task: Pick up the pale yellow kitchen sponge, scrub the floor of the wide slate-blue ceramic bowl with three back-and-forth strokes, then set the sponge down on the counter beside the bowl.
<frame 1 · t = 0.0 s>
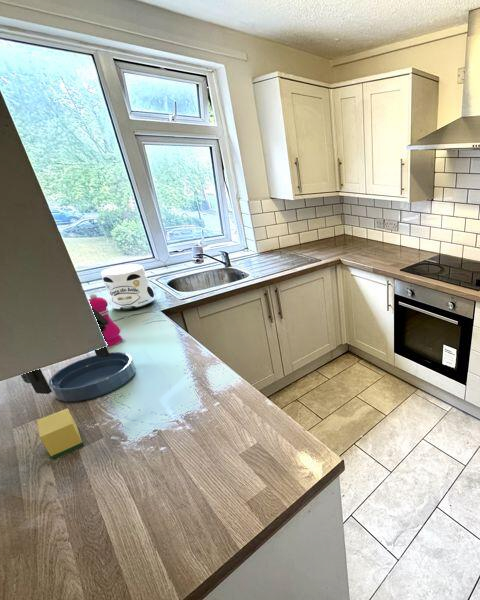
hand: (76, 372, 74), 20 cm above the countertop, tool pointing down, fingers open, 13 cm apart
sponge: (66, 443, 81), on the countertop
milk container: (135, 305, 156), on the countertop
bowl: (98, 382, 103), on the countertop
pepper mill: (112, 342, 125), on the countertop
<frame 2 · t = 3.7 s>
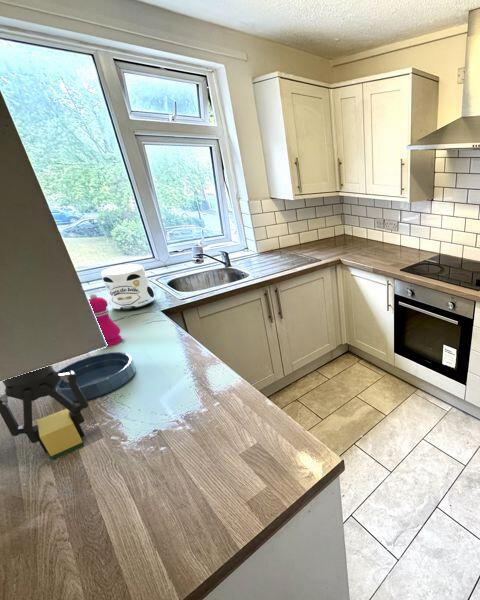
hand: (64, 441, 81), 1 cm above the countertop, tool pointing down, fingers closed on sponge, 5 cm apart
sponge: (66, 443, 81), on the countertop, touching gripper
everything else where it was.
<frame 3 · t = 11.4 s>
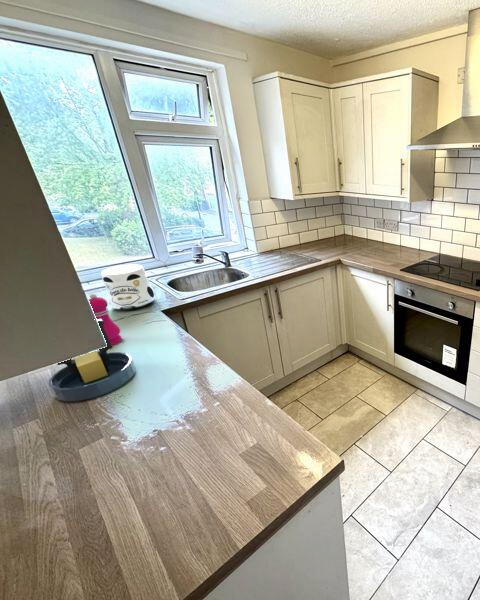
hand: (94, 374, 103), 2 cm above the countertop, tool pointing down, fingers closed on sponge, 5 cm apart
sponge: (95, 376, 104), point 1 cm above the countertop, touching gripper
everything else where it was.
when the fingers open (1 cm above the countertop, at t = 19.5 s): sponge stays where it is, on the countertop.
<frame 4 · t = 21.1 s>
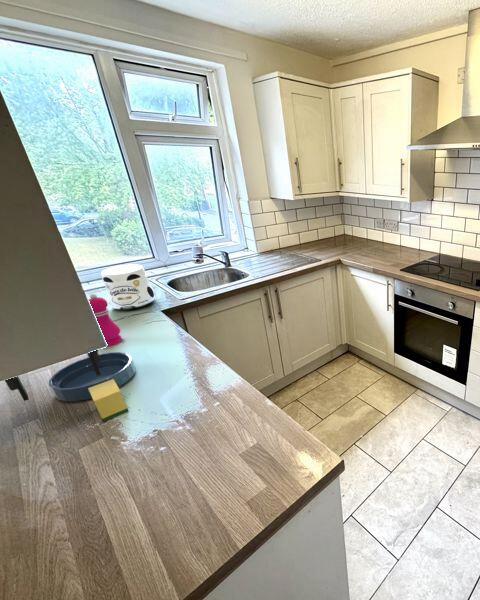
hand: (64, 384, 85), 10 cm above the countertop, tool pointing down, fingers open, 13 cm apart
sponge: (112, 409, 92), on the countertop
everything else where it was.
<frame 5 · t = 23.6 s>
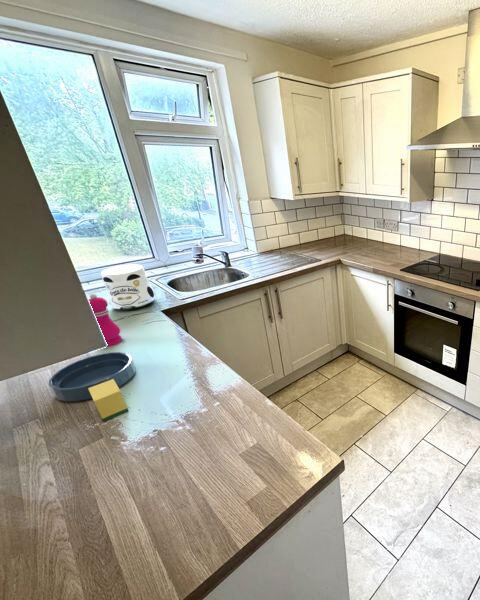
nothing on the countertop moved.
at the end: sponge inside the target area on the countertop beside the bowl (0.1 cm from its centre), on the countertop; the gripper is holding nothing; sponge moved 12.1 cm from its start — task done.
